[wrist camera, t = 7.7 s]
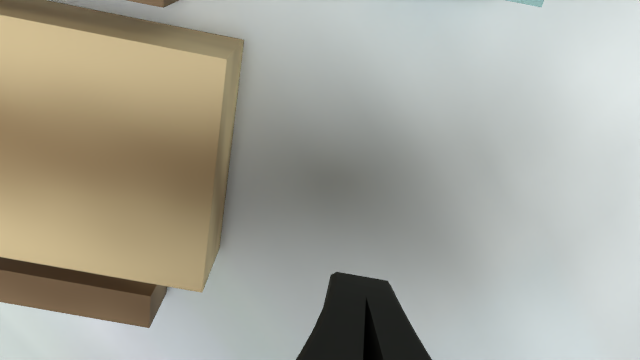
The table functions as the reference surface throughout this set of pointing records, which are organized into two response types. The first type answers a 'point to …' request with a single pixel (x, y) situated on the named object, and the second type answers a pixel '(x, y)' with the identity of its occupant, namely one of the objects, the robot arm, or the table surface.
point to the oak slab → (114, 142)
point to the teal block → (530, 2)
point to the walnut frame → (81, 284)
